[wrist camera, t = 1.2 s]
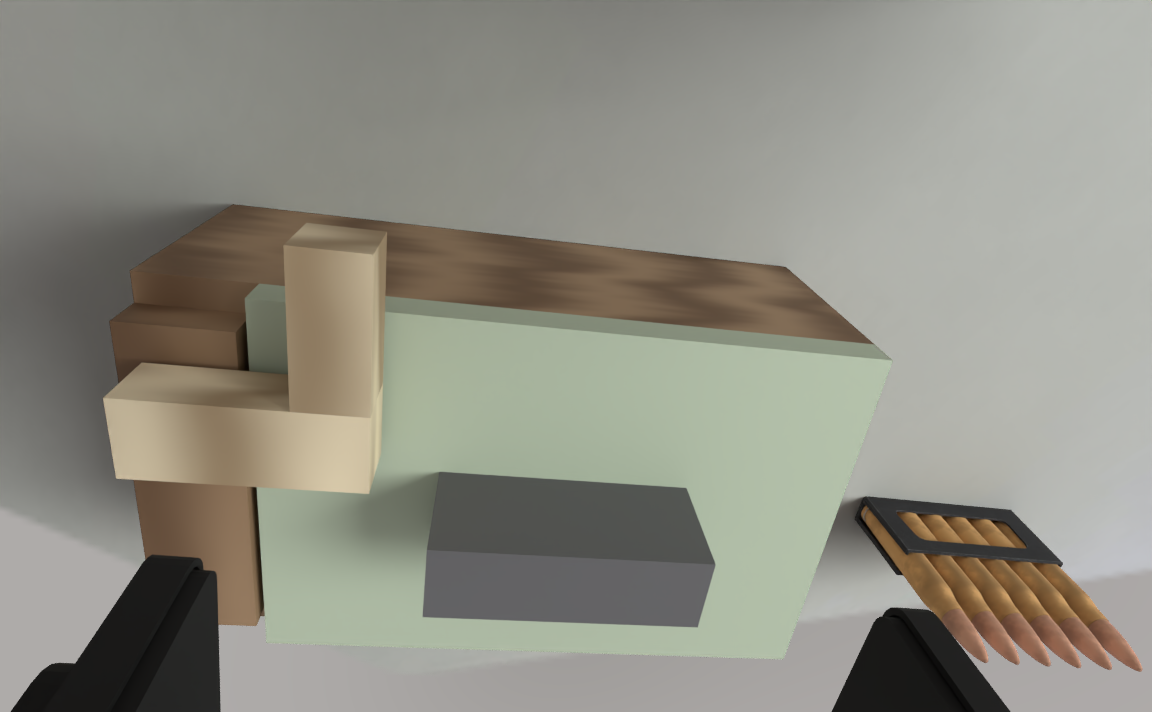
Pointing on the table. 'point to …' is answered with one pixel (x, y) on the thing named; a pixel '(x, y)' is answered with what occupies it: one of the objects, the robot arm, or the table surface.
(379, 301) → the wooden l-shaped block
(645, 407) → the toolbox lid
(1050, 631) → the ammunition clip
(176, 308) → the toolbox
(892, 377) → the table surface
